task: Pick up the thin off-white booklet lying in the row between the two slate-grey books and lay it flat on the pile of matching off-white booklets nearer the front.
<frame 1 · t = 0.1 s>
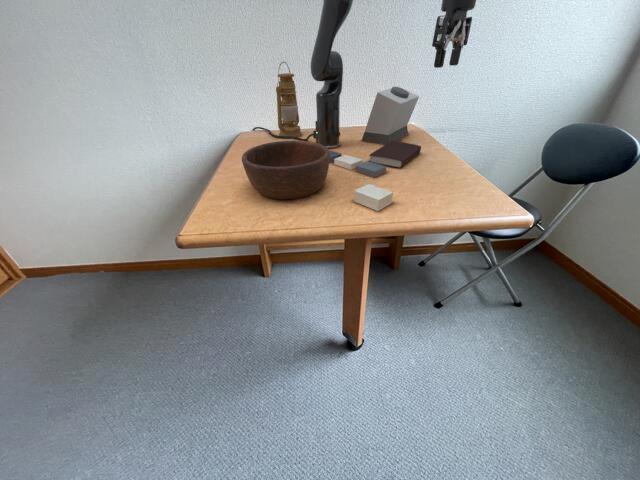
hand: (445, 66, 73), 29 cm above the table, tool pointing down, fingers open, 8 cm apart
white pile: (372, 202, 74), on the table
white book: (348, 164, 98), on the table
lantern: (290, 135, 133), on the table
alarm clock: (387, 138, 125), on the table
wooden bowl: (289, 186, 84), on the table
book: (394, 158, 102), on the table
grey books: (348, 164, 98), on the table
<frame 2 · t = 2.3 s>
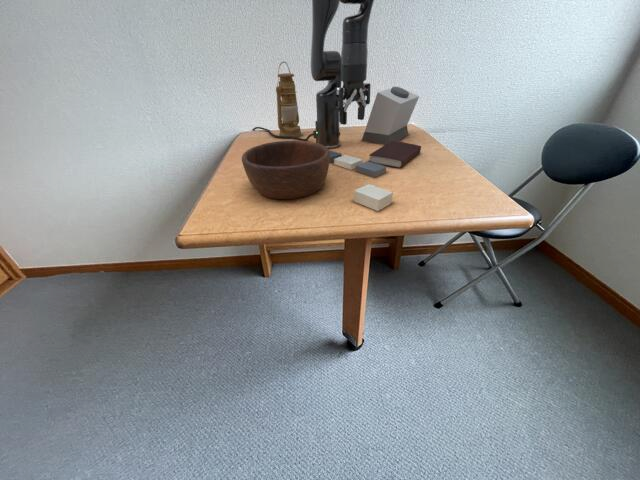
hand: (352, 121, 89), 14 cm above the table, tool pointing down, fingers open, 8 cm apart
nothing on the table moved.
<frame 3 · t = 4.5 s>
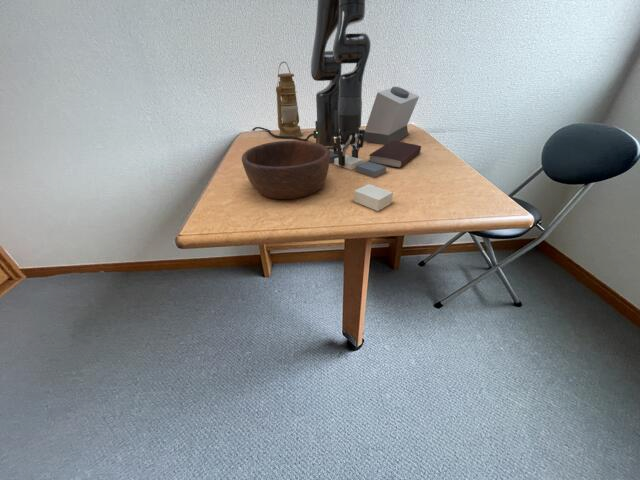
hand: (348, 163, 97), 1 cm above the table, tool pointing down, fingers closed on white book, 6 cm apart
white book: (348, 164, 98), on the table, touching gripper
everything else where it was.
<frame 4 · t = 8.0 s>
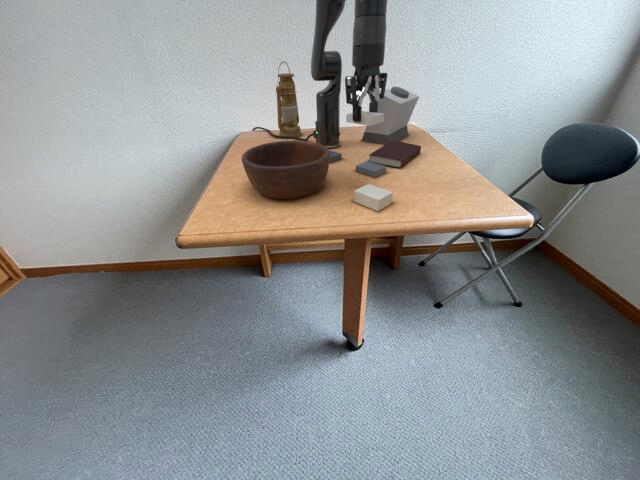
hand: (364, 119, 73), 18 cm above the table, tool pointing down, fingers closed on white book, 6 cm apart
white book: (364, 121, 74), point 18 cm above the table, touching gripper
everything else where it was.
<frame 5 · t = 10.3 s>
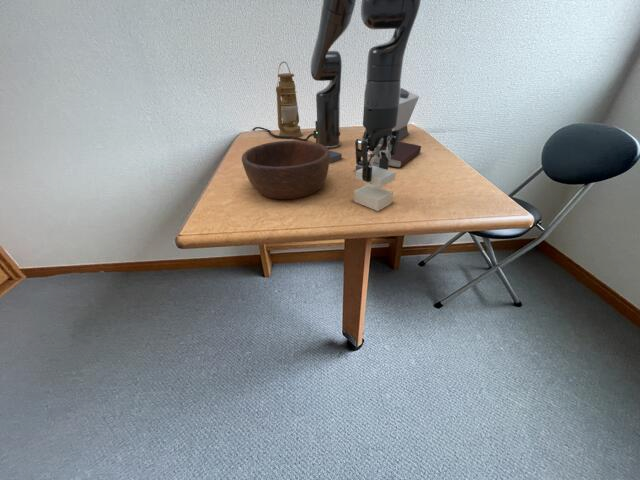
hand: (374, 176, 69), 7 cm above the table, tool pointing down, fingers closed on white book, 6 cm apart
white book: (374, 179, 70), point 7 cm above the table, touching gripper
everything else where it was.
when the fingers open (4 cm above the table, at t = 11.8 s): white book stays where it is, resting on white pile.
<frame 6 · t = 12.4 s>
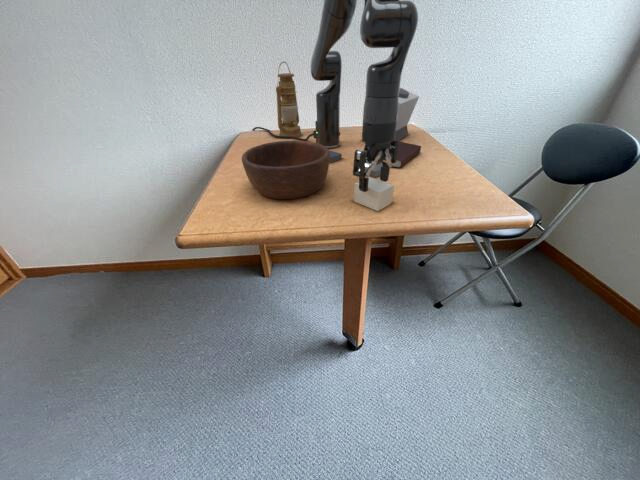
hand: (373, 185, 71), 5 cm above the table, tool pointing down, fingers open, 8 cm apart
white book: (373, 191, 72), point 3 cm above the table, touching white pile
everything else where it was.
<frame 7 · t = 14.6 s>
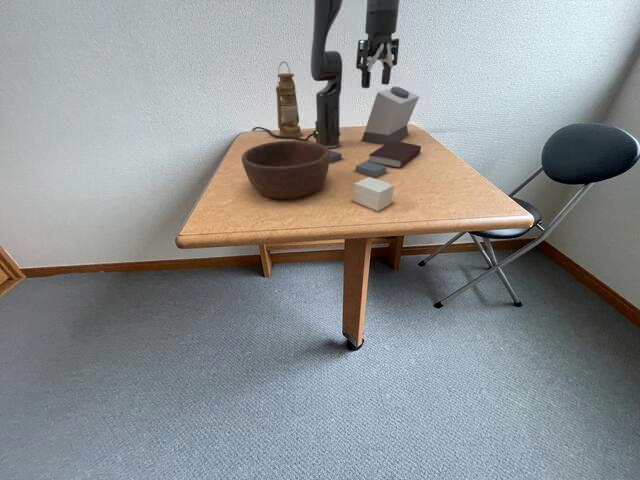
hand: (375, 86, 75), 25 cm above the table, tool pointing down, fingers open, 8 cm apart
nothing on the table moved.
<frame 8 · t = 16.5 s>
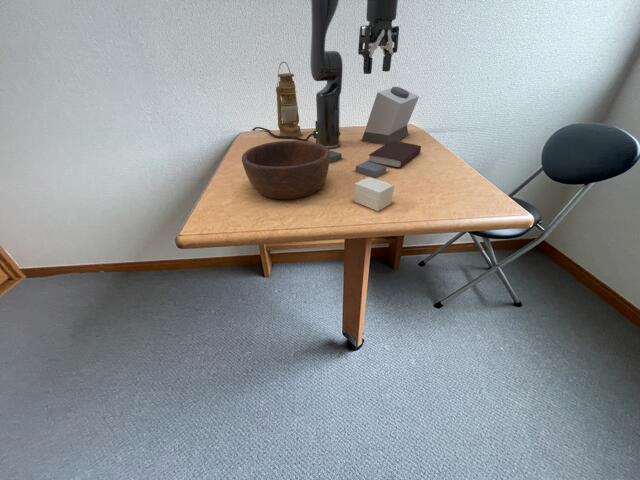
hand: (376, 72, 78), 28 cm above the table, tool pointing down, fingers open, 8 cm apart
nothing on the table moved.
at the end: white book 0.0 cm off-centre on the white pile, point 3.2 cm above the white pile's base; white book tilted 0° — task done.
